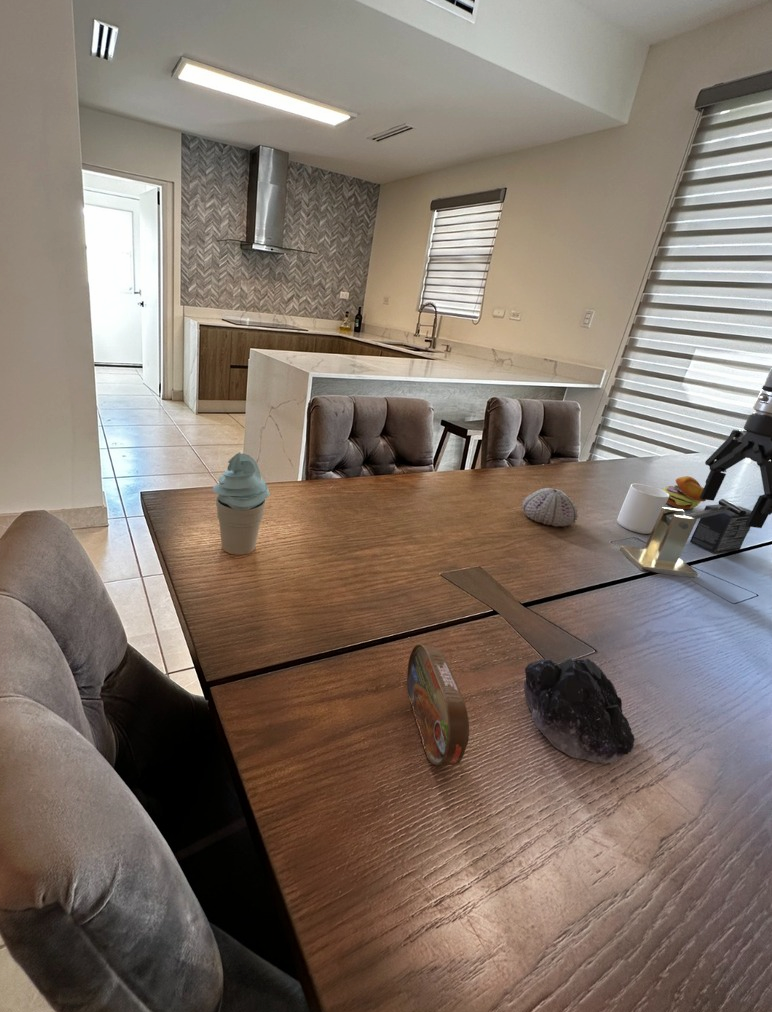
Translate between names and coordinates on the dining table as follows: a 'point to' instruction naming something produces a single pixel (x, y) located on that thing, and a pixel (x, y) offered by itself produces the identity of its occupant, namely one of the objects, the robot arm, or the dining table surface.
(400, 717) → the dining table surface
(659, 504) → the mug
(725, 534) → the small box
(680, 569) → the bracket
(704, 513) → the lever
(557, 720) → the crystal cluster
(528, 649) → the dining table surface
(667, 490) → the cheeseburger
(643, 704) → the dining table surface
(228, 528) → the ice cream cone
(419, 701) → the tin
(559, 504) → the sea urchin shell
